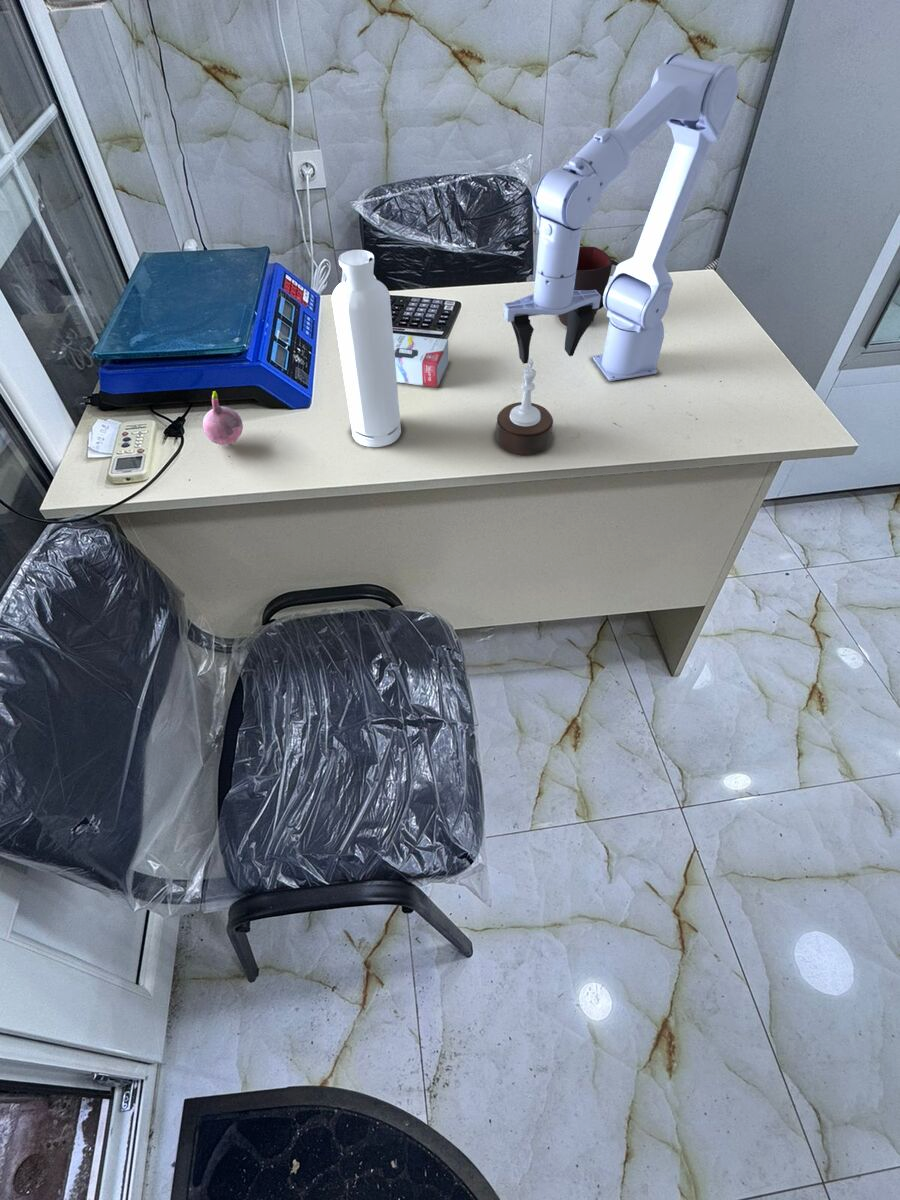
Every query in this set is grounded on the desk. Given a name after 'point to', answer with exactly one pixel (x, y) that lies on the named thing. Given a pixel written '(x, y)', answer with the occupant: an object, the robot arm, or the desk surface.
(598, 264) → the cup
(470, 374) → the desk surface
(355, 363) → the bottle
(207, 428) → the vegetable
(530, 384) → the chess piece
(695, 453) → the desk surface
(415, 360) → the ink box
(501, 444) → the stand
